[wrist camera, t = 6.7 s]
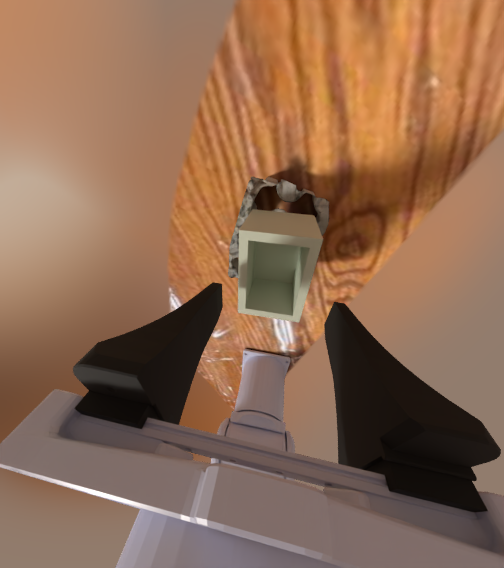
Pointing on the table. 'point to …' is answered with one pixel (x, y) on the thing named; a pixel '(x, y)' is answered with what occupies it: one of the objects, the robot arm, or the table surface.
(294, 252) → the box
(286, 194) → the egg carton
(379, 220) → the table surface
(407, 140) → the table surface
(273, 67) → the table surface
